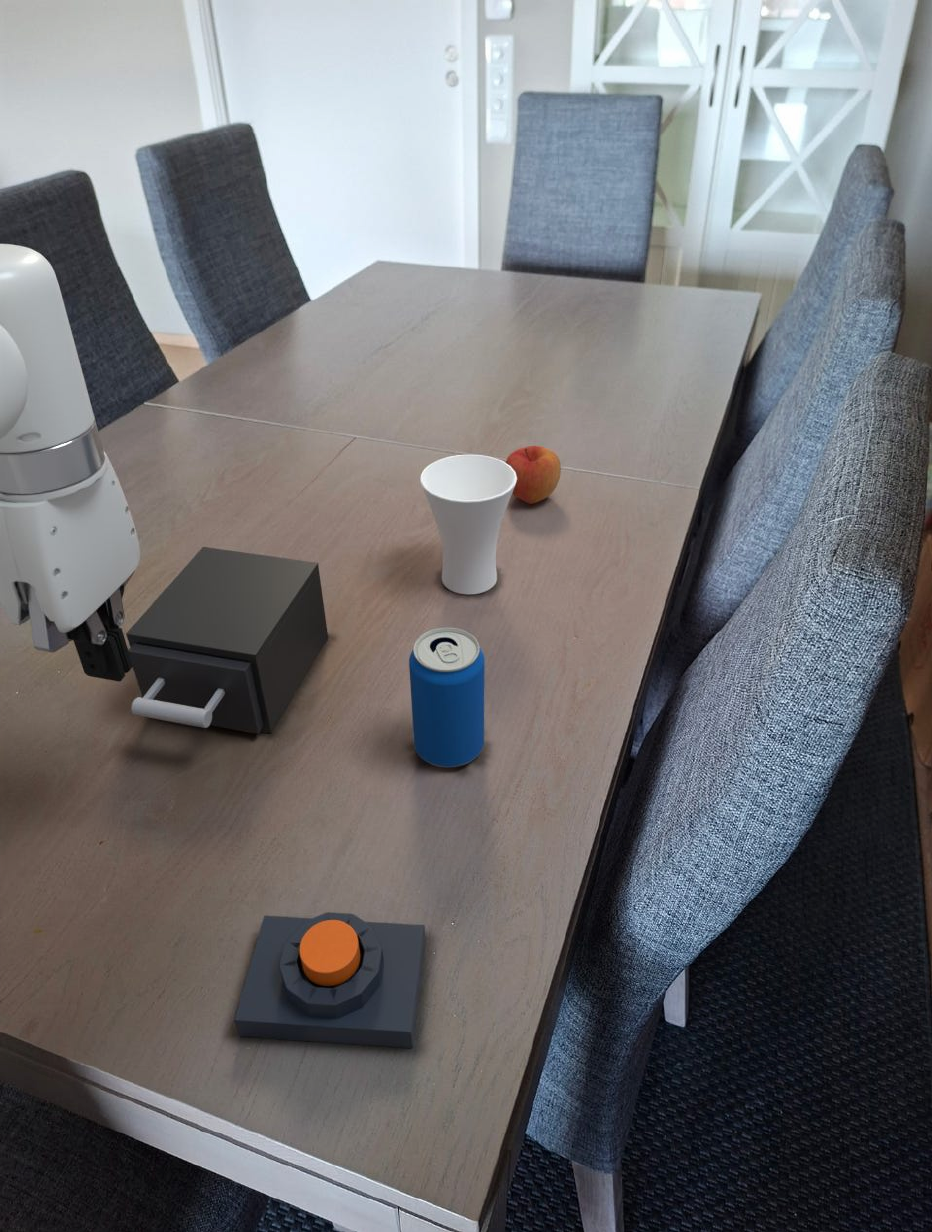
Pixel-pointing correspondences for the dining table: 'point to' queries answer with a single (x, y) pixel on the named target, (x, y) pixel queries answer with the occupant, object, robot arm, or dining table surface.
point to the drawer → (195, 688)
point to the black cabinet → (244, 619)
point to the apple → (534, 472)
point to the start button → (330, 952)
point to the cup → (468, 516)
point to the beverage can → (447, 697)
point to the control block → (344, 1013)
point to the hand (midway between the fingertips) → (109, 671)
